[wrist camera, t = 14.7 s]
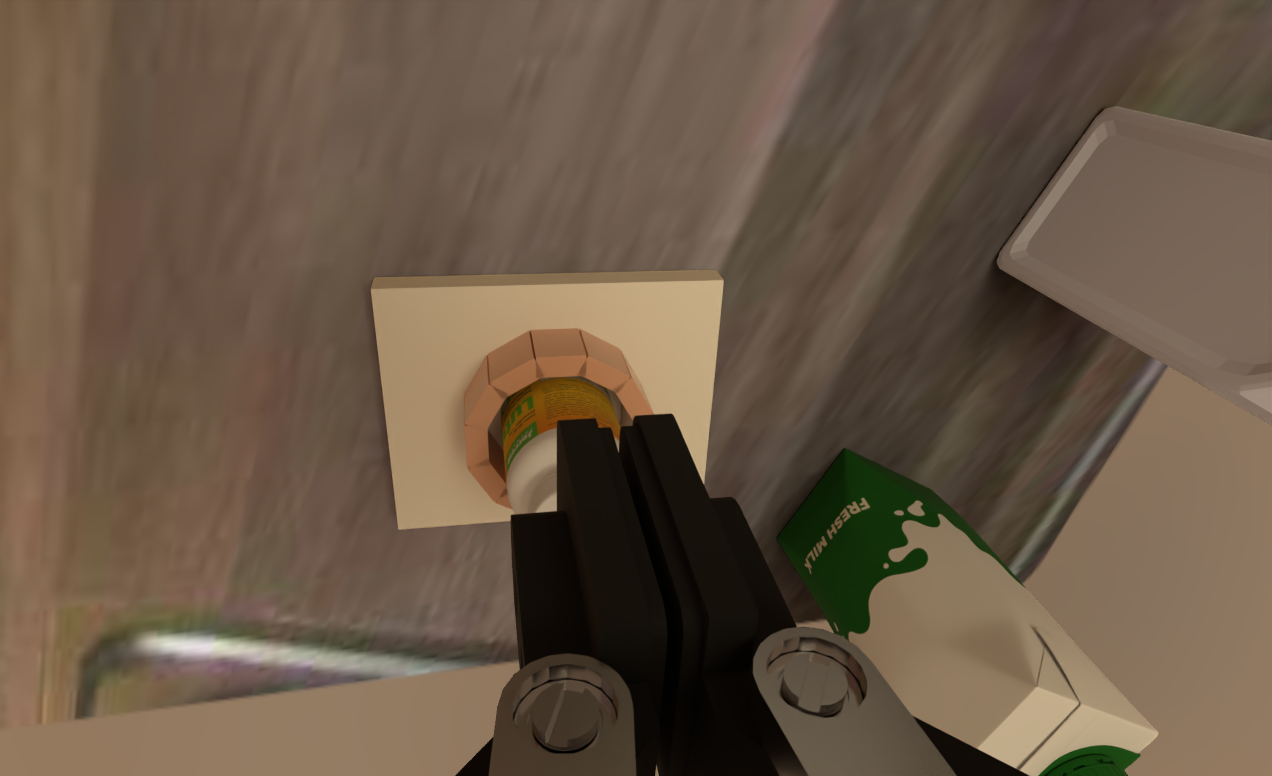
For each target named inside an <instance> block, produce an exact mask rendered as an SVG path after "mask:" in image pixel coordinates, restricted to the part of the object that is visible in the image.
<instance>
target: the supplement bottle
mask: <svg viewBox="0 0 1272 776" xmlns="http://www.w3.org/2000/svg"><path fill="white" fill-rule="evenodd" d="M587 418H595V419H596V420H597V423H598V427H599V428H602V427H611V429H612V432H613V435H614V438H615V442H616V445H617V448H618V452H619V437H620V429H621V428H620V425H619V422H618V419H617V416H616V413H615V410H614V407H613V404H612V401H611V398H610V395H609V393H608V390H607V388H606V387H603V386H601V385H599V384H597V383H595V382H593V381H591V380H589V379H587V378H585V377H582V376H570V377H548V378H540V379H538V380H536V381H535V382H533V383H531V384H529V385H528V386H526V387H524V388H522V389H520V390H519V391H517V392H515V393H513V394H512V395H510V396H508V397H506V399H505V401H504V402H503V404H502V406H501V426H502V439H503V451H504V462H505V474H506V485H507V493H508V498H509V502H510V505H511V507H512V509H513V511H514V513H515V514H526V513H538V512H551V511H557V421H558V420H570V419H587Z"/></svg>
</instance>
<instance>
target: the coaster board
mask: <svg viewBox="0 0 1272 776" xmlns="http://www.w3.org/2000/svg"><path fill="white" fill-rule="evenodd" d="M723 283H724V280H723V279H722V277H721V276H720V275H719V274H718V272H717V271H716V270H676V271H632V272H587V273H543V274H499V275H454V276H410V277H374V279H373V283H372V286H371V295H372V304H373V313H374V322H375V330H376V339H377V348H378V356H379V365H380V374H381V383H382V391H383V400H384V409H385V417H386V426H387V435H388V443H389V452H390V461H391V470H392V478H393V487H394V496H395V504H396V513H397V522H398V530H400V529H413V528H426V527H438V526H451V525H464V524H477V523H490V522H502V521H511V515H514V514H515V513H514V511H513V510H512V509H509V508H507V507H504V506H502V505H499V504H496V503H495V502H493V500H492V499H491V498H490V497H489V495H488V494H487V493H486V492H485V490H484V489H483V488H482V487H481V485H480V484H479V483H478V482H477V480H476V479H475V478H474V477H473V475H472V474H471V473H470V472H469V470H468V468H467V460H466V444H465V428H464V394H465V391H466V389H467V388H468V386H469V384H470V382H471V381H472V379H473V377H474V376H475V374H476V372H477V370H478V369H479V367H480V365H481V364H482V362H483V360H484V359H485V357H486V355H487V356H488V353H490V352H492V351H493V350H495V349H497V348H499V347H500V346H502V345H504V344H506V343H508V342H509V341H511V340H513V339H515V338H516V337H518V336H520V335H522V334H523V333H525V332H527V331H529V332H530V333H531V330H541V329H569V328H578V330H579V329H582V330H584V331H586V332H588V333H590V334H592V335H594V336H596V337H598V338H600V339H602V340H604V341H606V342H608V343H610V344H612V345H614V346H616V347H618V348H619V349H620V350H621V351H622V353H623V354H624V356H625V358H626V359H627V361H628V363H629V364H630V366H631V368H632V369H633V371H634V372H635V374H636V376H637V377H638V379H639V381H640V382H641V384H642V387H643V389H644V391H645V394H646V396H647V398H648V401H649V403H650V406H651V408H652V410H653V413H654V414H670V413H671V414H673V415H674V417H675V419H676V421H677V423H678V426H679V428H680V430H681V433H682V435H683V437H684V440H685V442H686V444H687V447H688V449H689V451H690V454H691V456H692V458H693V461H694V463H695V465H696V468H697V470H698V472H699V475H700V477H701V479H702V482H703V484H704V479H705V468H706V458H707V448H708V438H709V427H710V417H711V407H712V396H713V386H714V376H715V365H716V355H717V345H718V334H719V324H720V314H721V304H722V293H723ZM607 390H608V393H609V395H610V398H611V401H612V404H613V407H614V410H615V413H616V416H617V419H618V422H619V423H620V422H621V401H620V399H619V398H618V396H617V395H616V393H615V392H614V391H612V390H610V389H608V388H607ZM488 431H489V432H490V433H491V435H492V436H493V437H494V438H495V440H496V441H497V442H498V444H499V445H500V446H501V448H502V449H503V439H502V426H501V407H500V409H499V410H498V412H497V414H496V415H495V417H494V419H493V420H492V422H491V424H490V425H489V427H488Z"/></svg>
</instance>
